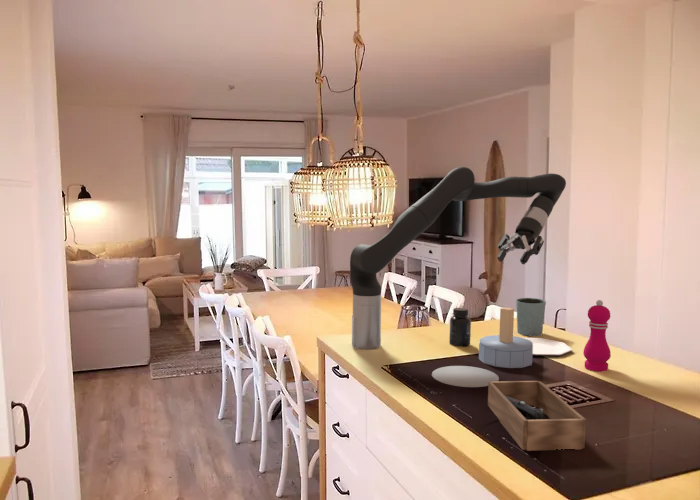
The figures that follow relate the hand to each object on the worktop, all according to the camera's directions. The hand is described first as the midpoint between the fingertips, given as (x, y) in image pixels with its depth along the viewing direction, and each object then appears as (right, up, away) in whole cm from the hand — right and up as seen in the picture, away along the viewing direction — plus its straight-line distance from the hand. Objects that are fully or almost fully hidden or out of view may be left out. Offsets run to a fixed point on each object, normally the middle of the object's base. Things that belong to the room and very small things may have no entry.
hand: (510, 261), depth 185 cm
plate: (+9, -29, +3) cm, 31 cm away
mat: (-20, -31, -26) cm, 45 cm away
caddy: (-12, -35, -59) cm, 69 cm away
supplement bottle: (-15, -28, +7) cm, 32 cm away
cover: (-5, -30, -11) cm, 32 cm away
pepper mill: (+20, -31, -18) cm, 41 cm away
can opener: (-14, -35, -56) cm, 68 cm away
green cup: (+13, -26, +23) cm, 37 cm away
